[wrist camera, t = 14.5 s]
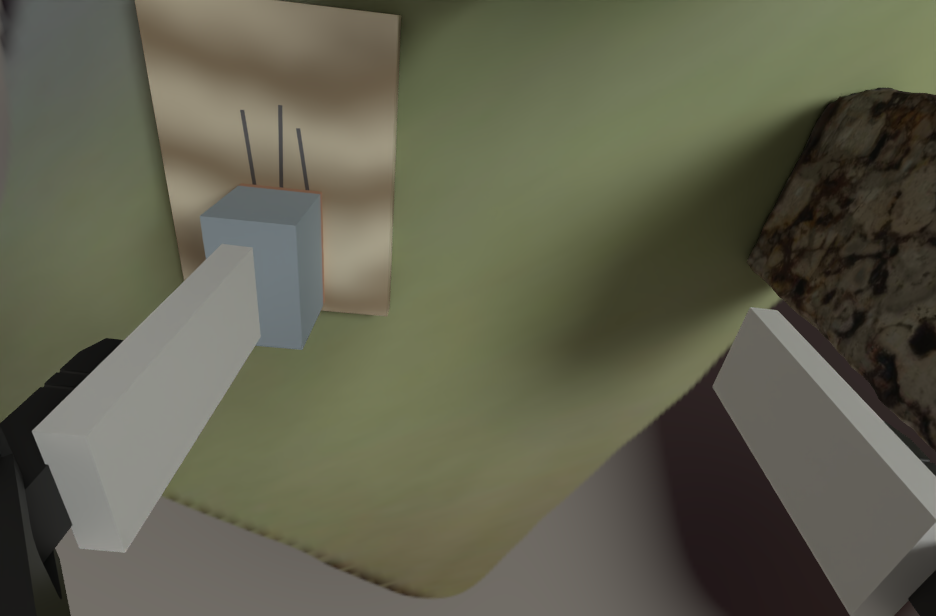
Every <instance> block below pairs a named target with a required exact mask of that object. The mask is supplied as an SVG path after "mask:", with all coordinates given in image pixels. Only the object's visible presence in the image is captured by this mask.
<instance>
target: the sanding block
mask: <svg viewBox="0 0 936 616" xmlns="http://www.w3.org/2000/svg"><path fill="white" fill-rule="evenodd" d="M200 222H201V229H202V236H203V243H204V249H205V256H206V259H207V258H208V257H209V256H210V255H211V254H212V253H213V252H214V251H215V250H216V249H217V248H218V247H219V246H220V245H221V244H228V245H236V246H245V247H253V257H254V268H255V279H256V290H257V301H258V312H259V323H260V334H261V337H260V339H259V340H258V342H257V344H256V345H255V346H265V347H277V348H289V349H301V350H302V349H303V347H304V345H305V343H306V341H307V339H308V337H309V334H310V332H311V330H312V328H313V326H314V324H315V322H316V320H317V317H318V315H319V313H320V311H321V309H322V307H323V305H324V302H325V292H324V252H323V213H322V192H319V191H310V190H300V189H291V188H281V187H272V186H262V185H252V184H243V183H241V184H240V185H238V186H237V187H236V188H235V189H233V190H232V191H231V192H230V193H228V194H227V195H226V196H224V197H223V198H222V199H221V200H219V201H218V202H217V203H216V204H214V205H213V206H212V207H210V208H209V209H208V210H207V211H205V212H204V213H203V214H202V215H200Z"/></svg>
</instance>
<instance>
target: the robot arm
mask: <svg viewBox="0 0 936 616" xmlns="http://www.w3.org/2000/svg"><path fill="white" fill-rule="evenodd" d="M260 337H261V334H260V323H259V312H258V301H257V290H256V279H255V268H254V257H253V247H245V246H236V245H228V244H221V245H220V246H219V247H218V248H217V249H216V250H215V251H214V252H213V253H212V254H211V255H210V256H209V257H208V258H207V259H206V260H205V261H204V262H203V263H202V264H201V265H200V266H199V267H198V268H197V269H196V270H195V271H194V272H193V273H192V274H191V275H190V276H189V277H188V278H187V279H186V280H185V281H184V282H183V283H182V284H181V285H180V286H179V287H178V288H177V289H176V290H175V291H174V292H173V293H171V294H170V295H169V296H168V297H167V298H166V299H165V300H164V301H163V302H162V303H161V304H160V305H159V306H158V307H157V308H156V309H155V310H154V311H153V312H152V313H151V314H150V315H149V316H148V317H147V318H146V319H145V320H144V321H143V322H142V323H141V324H140V325H139V326H138V327H137V328H136V329H135V330H134V331H133V332H132V333H131V334H130V335H129V336H128V337H127V338H126V339H125V340H118V339H108V338H106V339H104V340H102V341H100V342H98V343H96V344H94V345H92V346H90V347H88V348H86V349H84V350H82V351H80V352H79V353H78V354H76V355H75V356H74V357H73V358H72V359H71V360H70V361H69V362H68V363H67V364H65V365H64V366H63V367H62V368H61V369H60V373H55V374H54V375H53V376H52V377H51V378H50V379H49V380H48V381H47V382H45V385H44V387H40V388H39V389H38V390H37V391H36V392H34V393H33V394H32V395H31V396H30V397H29V398H28V399H27V400H26V401H24V402H23V403H22V404H21V405H20V406H19V407H18V408H17V409H16V410H15V411H13V412H12V413H11V414H10V415H9V416H8V417H7V418H6V419H5V420H3V421H2V422H1V423H0V616H71V615H70V610H69V604H68V600H67V594H66V590H65V584H64V579H63V574H62V569H61V564H60V559H59V557H58V554H57V552H56V550H55V547H56V546H57V545H58V543H59V542H60V540H61V539H62V538H63V537H64V535H65V534H66V533H67V531H68V530H69V529H70V528H71V529H72V531H73V534H74V536H75V539H76V541H77V544H78V546H79V548H80V549H90V550H101V551H113V552H126V551H127V549H128V548H129V546H130V544H131V543H132V541H133V540H134V538H135V536H136V535H137V533H138V532H139V530H140V528H141V527H142V525H143V524H144V522H145V521H146V519H147V517H148V516H149V514H150V513H151V511H152V509H153V508H154V506H155V505H156V503H157V501H158V500H159V498H160V497H161V495H162V493H163V492H164V490H165V489H166V487H167V485H168V484H169V482H170V481H171V479H172V478H173V476H174V474H175V473H176V471H177V470H178V468H179V466H180V465H181V463H182V462H183V460H184V458H185V457H186V455H187V454H188V452H189V450H190V449H191V447H192V446H193V444H194V442H195V441H196V439H197V438H198V436H199V434H200V433H201V431H202V430H203V428H204V426H205V425H206V423H207V422H208V420H209V418H210V417H211V415H212V414H213V412H214V411H215V409H216V407H217V406H218V404H219V403H220V401H221V399H222V398H223V396H224V395H225V393H226V391H227V390H228V388H229V387H230V385H231V383H232V382H233V380H234V379H235V377H236V375H237V374H238V372H239V371H240V369H241V367H242V366H243V364H244V363H245V361H246V359H247V358H248V356H249V355H250V353H251V351H252V350H253V348H254V347H255V345H256V344H257V342H258V340H259V339H260ZM713 389H714V390H715V392H716V394H717V395H718V397H719V398H720V400H721V402H722V403H723V405H724V407H725V408H726V410H727V412H728V413H729V415H730V417H731V418H732V420H733V422H734V423H735V425H736V427H737V428H738V430H739V432H740V433H741V435H742V437H743V438H744V439H745V442H746V443H747V445H748V447H749V448H750V450H751V451H752V453H753V455H754V457H755V458H756V460H757V461H758V463H759V464H760V466H761V468H762V470H763V471H764V473H765V475H766V476H767V478H768V480H769V482H770V483H771V485H772V487H773V488H774V490H775V492H776V493H777V495H778V496H779V498H780V500H781V501H782V503H783V505H784V506H785V508H786V510H787V511H788V513H789V515H790V516H791V518H792V520H793V521H794V523H795V525H796V526H797V528H798V530H799V531H800V533H801V535H802V536H803V538H804V540H805V541H806V543H807V545H808V546H809V548H810V550H811V551H812V553H813V555H814V556H815V558H816V560H817V561H818V563H819V565H820V566H821V568H822V569H823V571H824V573H825V575H826V576H827V578H828V580H829V581H830V583H831V584H832V586H833V588H834V589H835V591H836V593H837V594H838V596H839V598H840V599H841V601H842V603H843V604H844V606H845V608H846V609H847V611H848V613H849V614H850V616H894V615H895V614H896V612H898V611H899V609H901V607H902V606H903V605H904V604H905V603H906V602H907V601H908V600H909V601H910V602H911V603H912V605H913V606H914V608H915V609H916V611H917V612H918V614H919V615H920V616H936V465H935V464H934V463H930V462H929V460H930V459H929V458H928V457H927V456H926V455H925V454H924V453H923V452H922V451H921V450H920V449H919V448H918V447H917V446H916V445H915V444H914V443H913V442H912V441H911V440H910V439H909V438H908V437H906V436H905V435H903V434H902V433H900V432H899V431H897V430H896V429H895V428H893V427H892V426H891V425H889V424H888V423H886V422H883V421H882V420H881V419H880V417H879V416H877V414H876V413H875V412H874V411H873V410H872V409H871V408H870V407H869V406H868V405H867V404H866V403H865V402H864V401H863V400H862V399H861V398H860V396H859V395H858V394H857V393H856V392H855V391H854V390H853V389H852V388H851V387H850V386H849V385H848V384H847V383H846V382H845V381H844V380H843V379H842V378H841V377H840V376H839V374H838V373H837V372H836V371H835V370H834V369H833V368H832V367H831V366H830V365H829V364H828V363H827V362H826V361H825V360H824V359H823V358H822V357H821V356H820V354H819V353H818V352H817V351H816V350H815V349H814V348H813V347H812V346H811V345H810V344H809V343H808V342H807V341H806V340H805V339H804V338H803V337H802V336H801V335H800V333H798V332H797V330H796V329H795V328H794V327H793V326H792V325H791V324H790V323H789V322H788V321H787V320H786V319H785V318H784V317H783V316H782V315H781V314H780V313H779V311H777V310H770V309H761V308H753V307H750V308H749V310H748V313H747V315H746V317H745V319H744V321H743V323H742V325H741V327H740V330H739V332H738V334H737V336H736V338H735V340H734V342H733V344H732V346H731V349H730V351H729V353H728V355H727V357H726V359H725V362H724V363H723V366H722V368H721V370H720V372H719V374H718V376H717V378H716V380H715V383H714V385H713Z"/></svg>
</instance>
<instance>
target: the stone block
mask: <svg viewBox="0 0 936 616" xmlns="http://www.w3.org/2000/svg"><path fill="white" fill-rule="evenodd" d="M747 263H748V264H749V266H750V267H751V269H752V270H753V271H754V272H755V273H756V274H758V275H759V276H760V277H761V278H762V279H763V280H764V281H766V282H767V283H768V284H769V286H771V287H772V289H773V290H774V291H775V292H776V294H777V295H778V296H779V297H780V298H782V299H783V300H784V301H785V302H786V303H787V304H788V305H789V306H790V307H791V308H792V309H793V310H795V312H796V313H798V314H799V315H800V316H802V317H803V318H804V319H806V320H807V321H809V322H810V323H811V324H812V325H813V326H814V327H816V328H817V329H819V331H820V333H821V334H822V335H823V336H824V337H825V338H826V339H828V340H829V341H830V342H831V344H832V345H833V346H834V348H835V349H836V350H837V351H838V352H839V353H840V354H841V355H842V356H843V357H845V359H846V360H847V361H848V363H849V364H850V366H851V367H852V368H853V369H855V370H856V371H857V372H858V373H860V374H861V375H862V376H863V377H864V378H865V379H866V380H867V381H868V382H869V383H870V384H871V386H872V387H873V389H874V390H875V392H876V394H877V396H878V398H879V400H880V401H881V402H882V403H883V404H884V405H885V406H886V407H887V408H888V409H889V410H891V411H892V412H893V413H895V414H896V415H897V416H898V417H899V418H900V420H901V421H903V422H904V423H906V424H907V425H909V426H910V427H911V428H913V429H914V430H915V432H916V433H917V434H918V435H919V436H920V437H921V438H922V439H923V440H924V441H925V442H926V443H927V444H928V445H929V446H930V447H931V448H932V449H934V450H935V451H936V95H933V94H927V93H910V92H903V91H898V90H894V89H892V88H877V89H875V90H866V91H864V92H861V93H857V94H856V93H854V94H851V95H850V96H846V97H839V98H838V99H837V100H836V101H834V102H832V103H830V104H828V106H827V107H826V109H825V110H824V112H823V113H822V115H821V116H820V118H819V119H818V121H817V123H816V124H815V127H814V129H813V131H812V133H811V135H810V138H809V140H808V142H807V144H806V146H805V149H804V151H803V153H802V154H801V156H800V158H799V160H798V162H797V164H796V166H795V168H794V169H793V171H792V173H791V175H790V177H789V179H788V181H787V183H786V185H785V186H784V188H783V190H782V192H781V194H780V196H779V198H778V200H777V202H776V205H775V207H774V209H773V211H772V212H771V213H770V215H769V216H768V218H767V220H766V223H765V225H764V227H763V230H762V232H761V235H760V237H759V239H758V242H757V244H756V245H755V247H754V248H753V250H752V252H751V254H750V256H749V258H748V260H747Z"/></svg>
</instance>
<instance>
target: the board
mask: <svg viewBox="0 0 936 616" xmlns="http://www.w3.org/2000/svg"><path fill="white" fill-rule="evenodd" d="M135 6H136V11H137V17H138V23H139V28H140V34H141V39H142V45H143V51H144V56H145V62H146V68H147V73H148V79H149V85H150V90H151V96H152V102H153V107H154V113H155V119H156V124H157V130H158V136H159V141H160V147H161V153H162V158H163V164H164V170H165V175H166V181H167V187H168V192H169V198H170V203H171V209H172V215H173V220H174V226H175V232H176V237H177V243H178V249H179V254H180V260H181V266H182V271H183V277H184V281H185V280H186V279H187V278H188V277H189V276H190V275H191V274H192V273H193V272H194V271H195V270H196V269H197V268H198V267H199V266H200V265H201V264H202V263H203V262H204V261H205V260H206V256H205V249H204V243H203V236H202V229H201V222H200V215H202V214H203V213H204V212H205V211H207V210H208V209H209V208H210V207H212V206H213V205H214V204H216V203H217V202H218V201H219V200H221V199H222V198H223V197H224V196H226V195H227V194H228V193H230V192H231V191H232V190H233V189H235V188H236V187H237V186H238V185H240V184H241V183H243V184H252V185H262V186H272V187H281V188H291V189H300V190H310V191H319V192H322V213H323V252H324V292H325V302H324V305H323V307H322V309H321V311H333V312H344V313H356V314H367V315H379V316H388V312H389V307H390V289H391V264H392V239H393V213H394V188H395V162H396V137H397V111H398V86H399V60H400V35H401V15H395V14H386V13H378V12H370V11H362V10H354V9H345V8H337V7H329V6H321V5H313V4H305V3H296V2H288V1H280V0H135Z"/></svg>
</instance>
